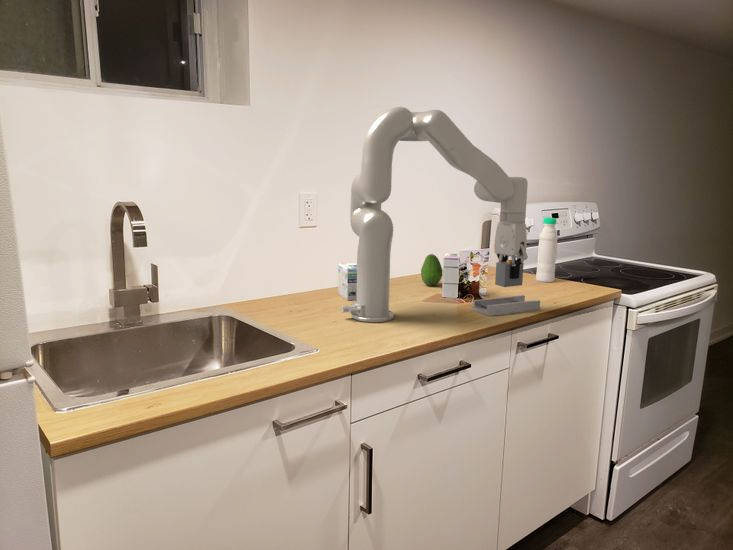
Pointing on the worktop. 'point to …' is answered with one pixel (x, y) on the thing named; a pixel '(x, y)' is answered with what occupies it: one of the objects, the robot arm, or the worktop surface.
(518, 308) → the rail
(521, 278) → the block
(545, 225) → the milk bottle
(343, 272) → the light bulb box
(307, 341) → the worktop surface
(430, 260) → the avocado
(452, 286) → the syrup box
